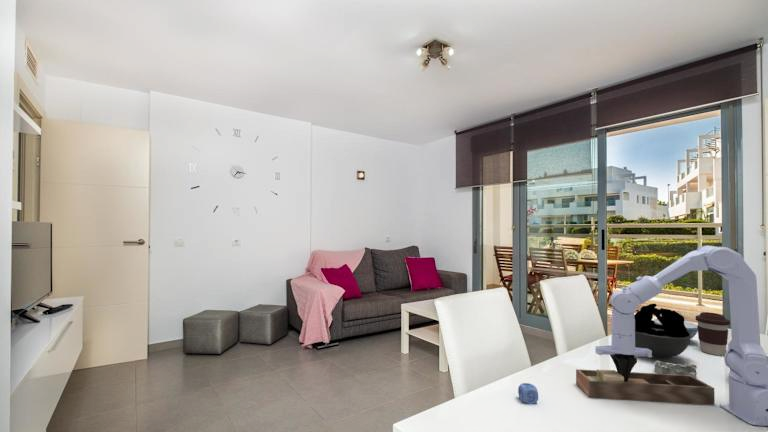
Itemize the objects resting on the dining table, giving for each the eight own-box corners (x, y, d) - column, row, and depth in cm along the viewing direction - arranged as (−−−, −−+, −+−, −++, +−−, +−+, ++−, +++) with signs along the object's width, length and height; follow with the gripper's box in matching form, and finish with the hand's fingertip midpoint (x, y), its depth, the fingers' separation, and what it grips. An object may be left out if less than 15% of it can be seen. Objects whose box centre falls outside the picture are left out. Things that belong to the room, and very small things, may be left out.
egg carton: (698, 378, 115) (698, 365, 115) (693, 384, 110) (693, 371, 111) (658, 367, 124) (658, 355, 124) (651, 372, 119) (651, 360, 119)
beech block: (624, 386, 101) (623, 377, 101) (605, 385, 101) (605, 376, 101) (614, 378, 106) (614, 370, 106) (596, 377, 106) (596, 369, 106)
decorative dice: (532, 397, 100) (532, 382, 100) (538, 404, 96) (538, 389, 96) (518, 397, 100) (518, 382, 100) (523, 404, 96) (523, 389, 96)
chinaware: (645, 337, 158) (645, 319, 158) (669, 334, 163) (669, 317, 163) (682, 348, 144) (682, 328, 144) (707, 345, 148) (707, 326, 149)
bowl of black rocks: (678, 371, 119) (678, 315, 120) (614, 353, 136) (613, 304, 137) (699, 360, 130) (698, 308, 131) (637, 344, 147) (636, 299, 148)
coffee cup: (728, 359, 132) (727, 318, 132) (693, 351, 140) (693, 313, 140) (732, 353, 138) (731, 314, 139) (698, 346, 146) (698, 310, 146)
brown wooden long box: (690, 390, 106) (690, 375, 106) (714, 404, 97) (714, 388, 97) (576, 384, 108) (576, 369, 109) (589, 397, 100) (589, 381, 100)
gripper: (640, 330, 107) (641, 375, 107) (590, 328, 108) (590, 373, 108) (656, 337, 100) (656, 386, 100) (602, 335, 101) (602, 383, 101)
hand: (623, 380), depth 103 cm, fingers closed
